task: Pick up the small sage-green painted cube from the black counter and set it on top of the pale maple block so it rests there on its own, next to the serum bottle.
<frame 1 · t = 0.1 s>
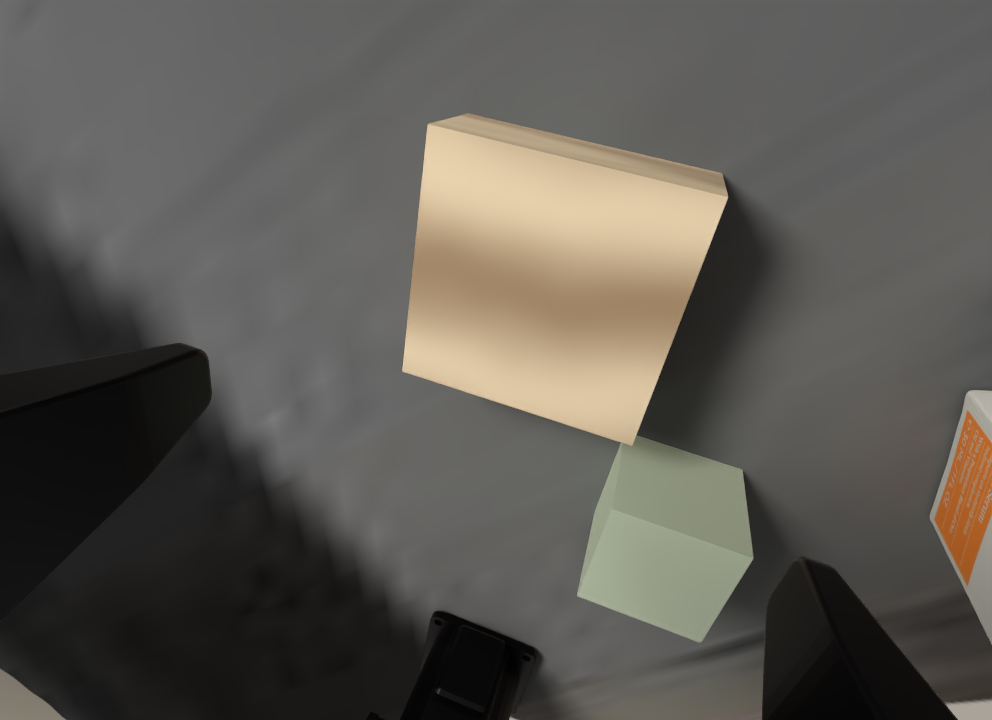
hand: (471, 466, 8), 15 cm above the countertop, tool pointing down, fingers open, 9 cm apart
maple block: (561, 261, 22), on the countertop
sage cube: (663, 491, 25), on the countertop
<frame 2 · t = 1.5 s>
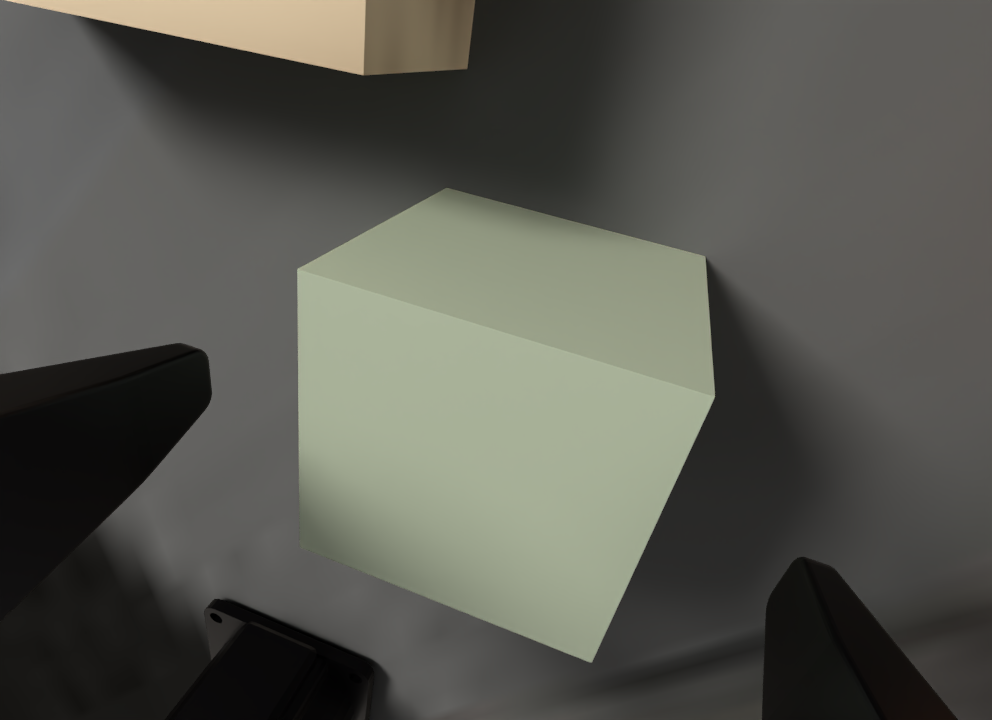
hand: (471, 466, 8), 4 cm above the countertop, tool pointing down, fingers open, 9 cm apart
sage cube: (542, 334, 12), on the countertop
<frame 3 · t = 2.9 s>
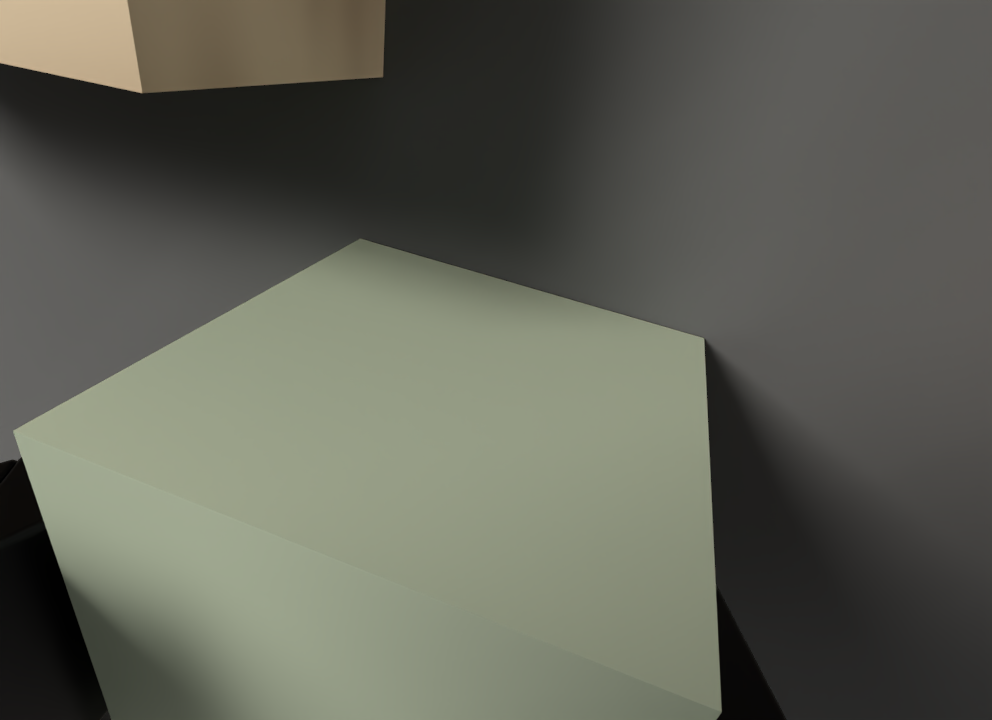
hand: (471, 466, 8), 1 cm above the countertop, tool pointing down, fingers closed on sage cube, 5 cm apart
sage cube: (492, 426, 9), on the countertop, touching gripper
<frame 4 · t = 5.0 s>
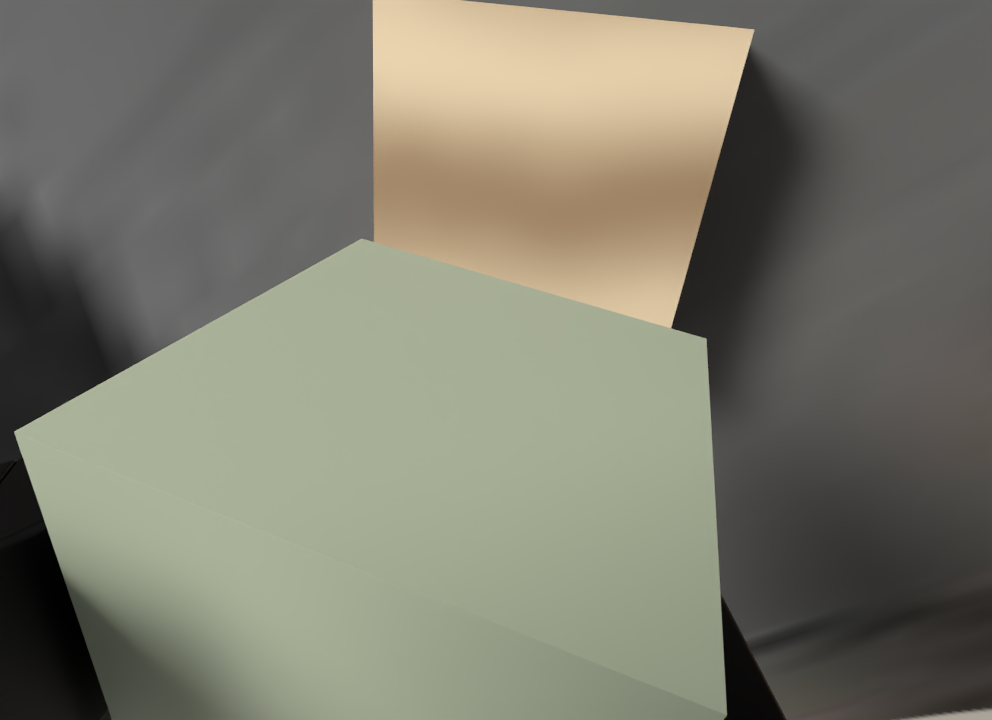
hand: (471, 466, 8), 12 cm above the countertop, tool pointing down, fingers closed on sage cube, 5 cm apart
maple block: (555, 179, 19), on the countertop
sage cube: (493, 427, 9), point 11 cm above the countertop, touching gripper
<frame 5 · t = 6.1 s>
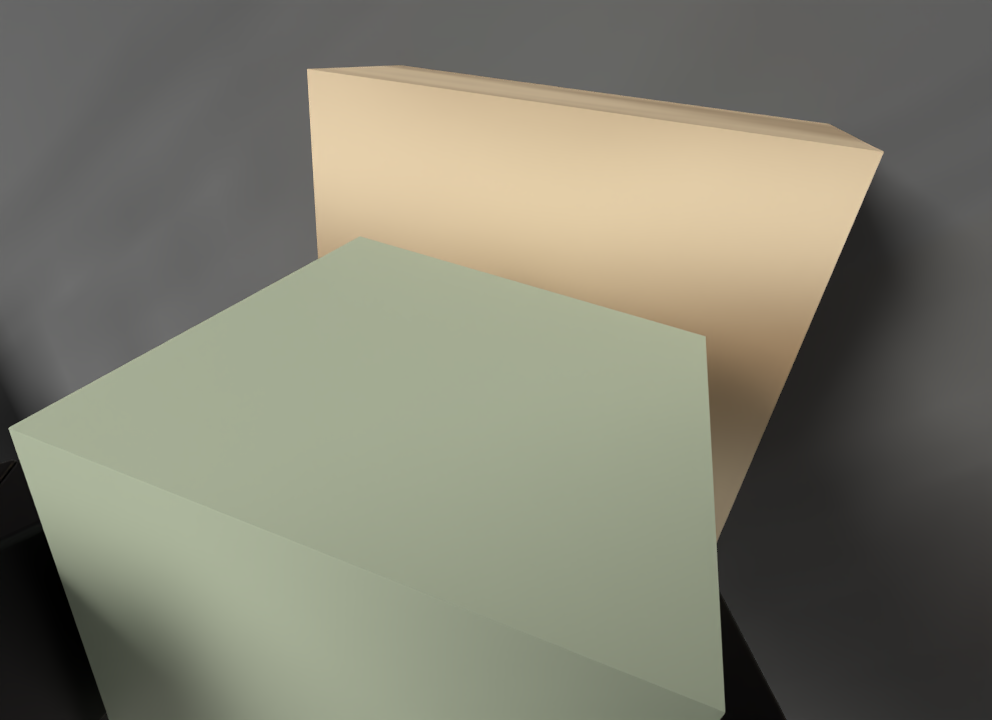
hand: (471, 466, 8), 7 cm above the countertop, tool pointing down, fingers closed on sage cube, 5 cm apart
maple block: (565, 286, 14), on the countertop
sage cube: (492, 425, 9), point 6 cm above the countertop, touching gripper
when the fingers open (6 cm above the countertop, at t = 7.1 s): sage cube drops 1 cm, point 4 cm above the countertop.
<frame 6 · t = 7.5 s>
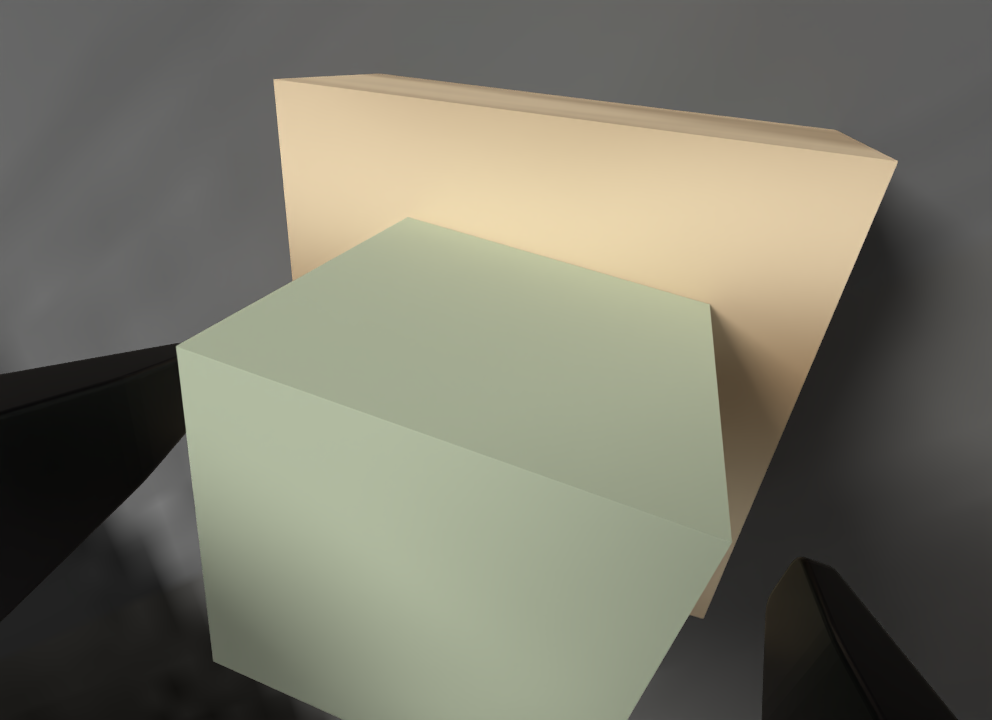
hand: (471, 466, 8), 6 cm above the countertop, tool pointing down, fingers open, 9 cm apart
maple block: (558, 302, 14), on the countertop
sage cube: (519, 387, 10), point 4 cm above the countertop
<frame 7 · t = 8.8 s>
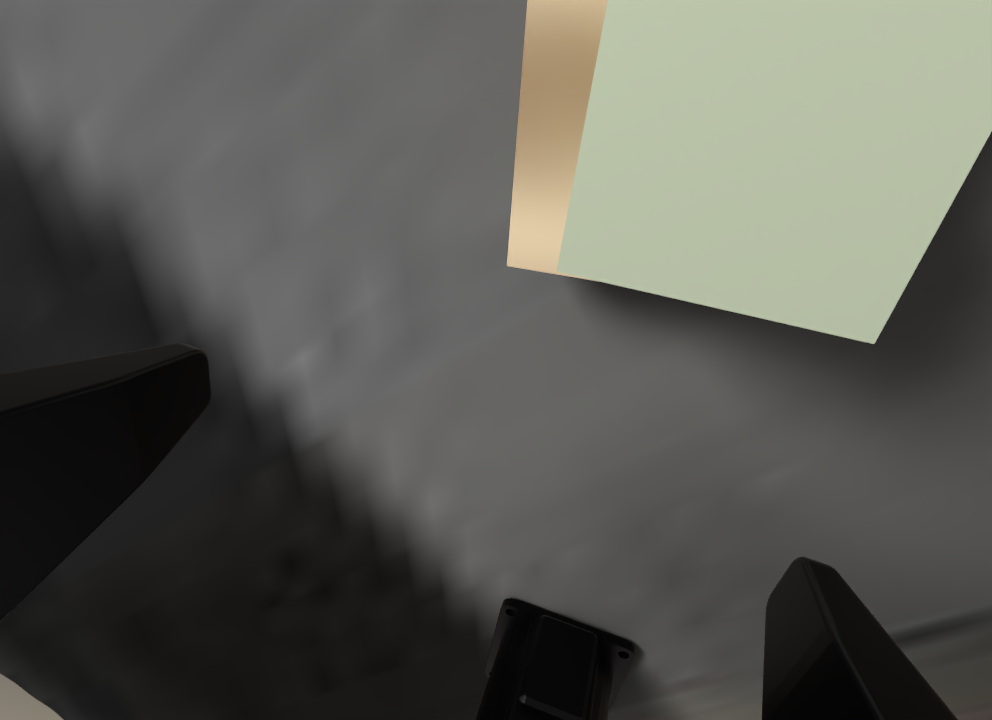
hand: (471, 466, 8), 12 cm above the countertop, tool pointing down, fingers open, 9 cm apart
maple block: (718, 87, 15), on the countertop
sage cube: (739, 105, 12), point 4 cm above the countertop
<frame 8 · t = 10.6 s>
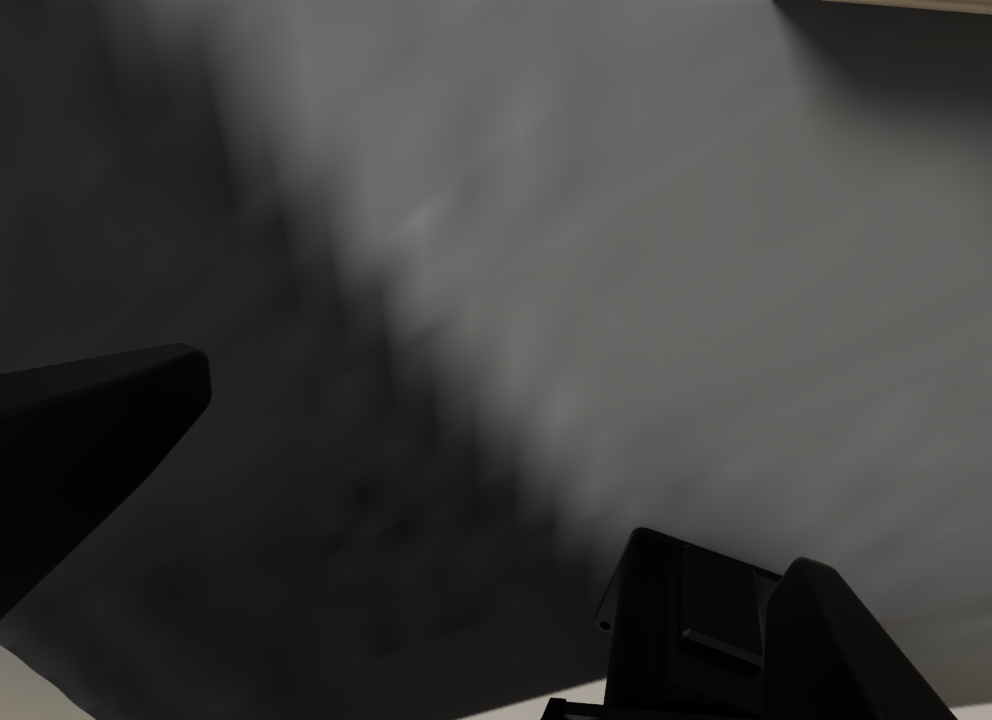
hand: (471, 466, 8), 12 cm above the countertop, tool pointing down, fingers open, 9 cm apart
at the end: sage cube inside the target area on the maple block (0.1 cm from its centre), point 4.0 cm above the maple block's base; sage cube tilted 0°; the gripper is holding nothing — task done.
